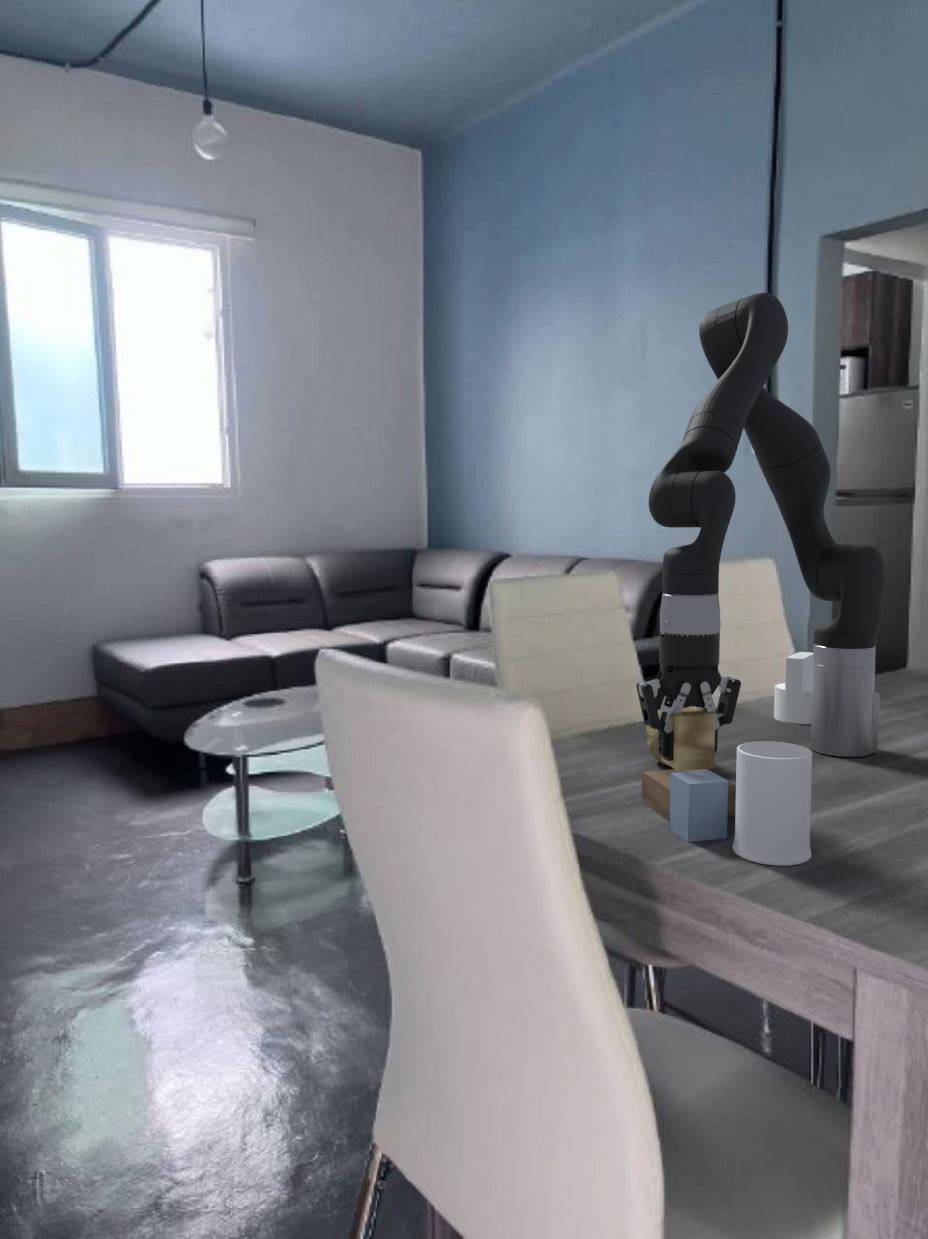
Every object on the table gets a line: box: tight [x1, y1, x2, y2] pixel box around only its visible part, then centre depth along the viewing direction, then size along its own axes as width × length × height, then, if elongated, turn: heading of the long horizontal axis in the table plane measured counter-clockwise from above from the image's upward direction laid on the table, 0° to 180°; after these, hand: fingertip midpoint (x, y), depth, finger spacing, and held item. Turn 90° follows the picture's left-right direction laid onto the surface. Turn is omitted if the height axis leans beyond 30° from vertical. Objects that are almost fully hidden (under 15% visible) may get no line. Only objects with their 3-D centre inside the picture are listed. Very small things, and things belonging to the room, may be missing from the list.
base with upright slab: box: [773, 651, 813, 725], centre depth 173 cm, size 9×9×12 cm
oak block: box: [662, 706, 716, 771], centre depth 121 cm, size 5×5×7 cm
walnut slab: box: [641, 768, 736, 822], centre depth 121 cm, size 9×9×4 cm
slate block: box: [669, 769, 729, 843], centre depth 112 cm, size 5×5×7 cm
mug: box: [731, 740, 813, 867], centre depth 106 cm, size 12×8×12 cm
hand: (687, 757), depth 121 cm, fingers closed on oak block, 5 cm apart
